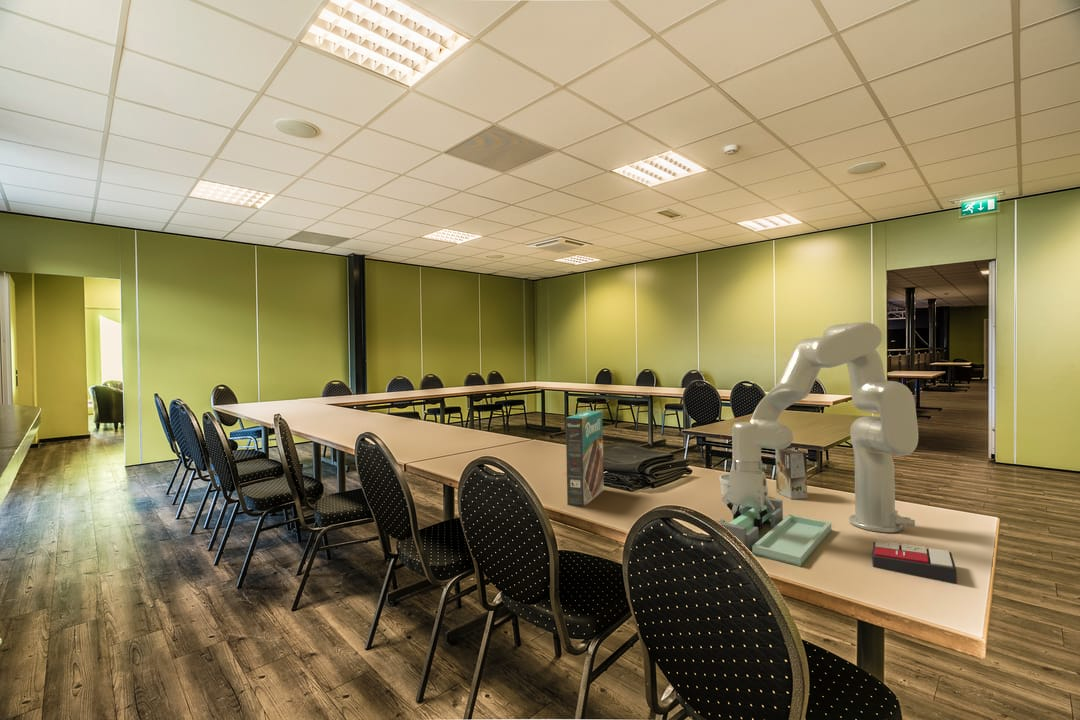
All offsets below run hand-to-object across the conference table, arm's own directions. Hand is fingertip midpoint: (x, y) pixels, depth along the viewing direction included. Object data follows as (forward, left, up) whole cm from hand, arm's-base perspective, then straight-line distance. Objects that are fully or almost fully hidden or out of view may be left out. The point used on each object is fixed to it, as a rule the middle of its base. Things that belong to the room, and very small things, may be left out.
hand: (747, 528), depth 136 cm
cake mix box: (+56, +3, -1) cm, 56 cm away
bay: (0, 0, -1) cm, 1 cm away
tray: (-12, 0, -1) cm, 12 cm away
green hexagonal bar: (0, 0, -1) cm, 1 cm away
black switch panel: (-37, -2, -1) cm, 37 cm away
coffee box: (+1, -45, -1) cm, 45 cm away
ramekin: (+14, -31, -1) cm, 34 cm away
